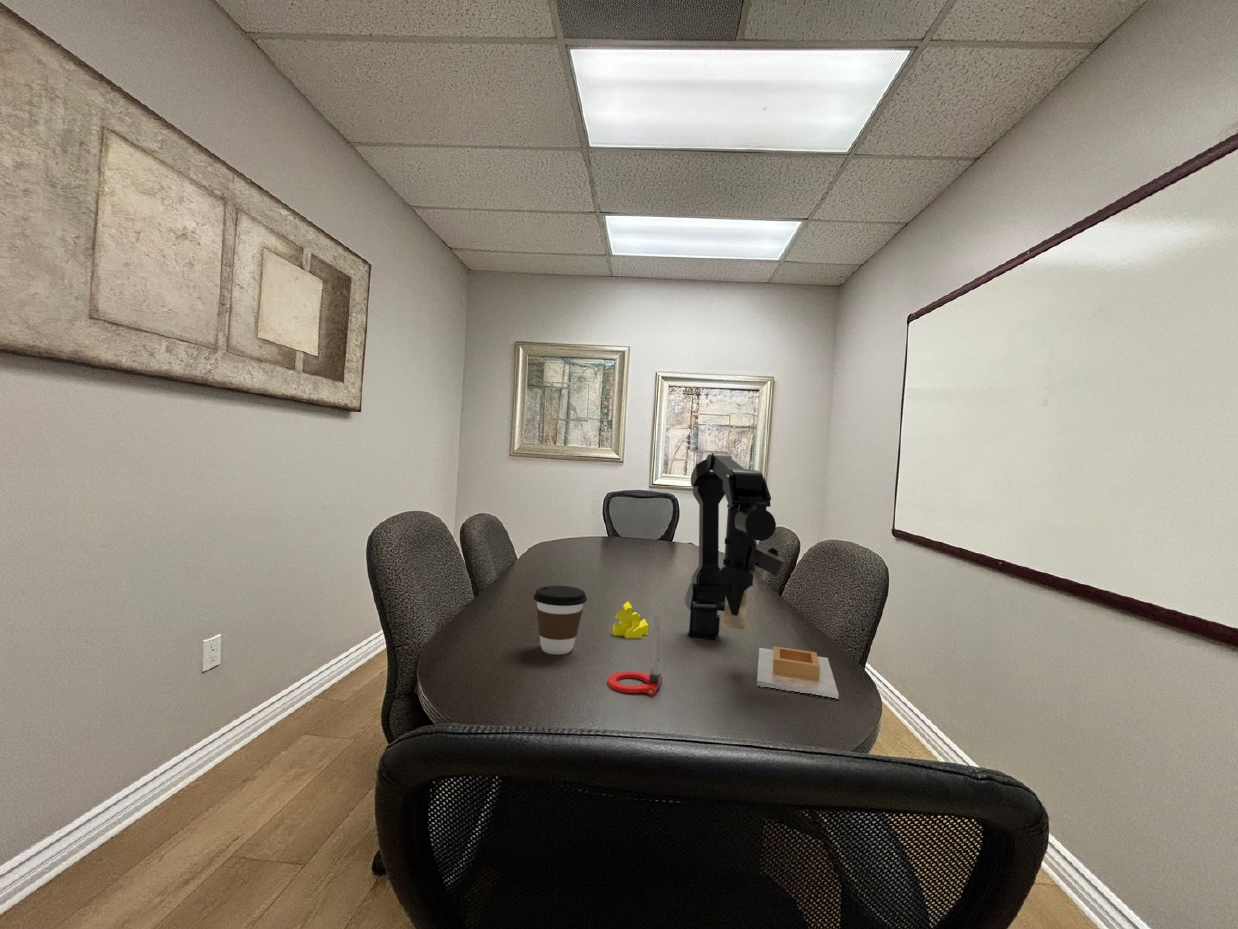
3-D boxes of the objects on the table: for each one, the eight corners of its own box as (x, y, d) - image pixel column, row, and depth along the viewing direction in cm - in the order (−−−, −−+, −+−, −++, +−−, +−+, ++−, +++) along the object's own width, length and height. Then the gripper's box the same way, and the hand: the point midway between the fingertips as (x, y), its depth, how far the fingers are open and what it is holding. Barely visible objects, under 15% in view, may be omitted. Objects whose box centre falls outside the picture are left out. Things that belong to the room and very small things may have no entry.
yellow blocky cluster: (650, 638, 126) (653, 604, 126) (617, 639, 124) (619, 604, 124) (642, 630, 132) (644, 597, 132) (609, 631, 129) (612, 597, 129)
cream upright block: (723, 626, 108) (726, 585, 108) (725, 621, 112) (727, 581, 112) (744, 629, 107) (747, 588, 107) (745, 624, 111) (748, 584, 111)
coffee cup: (519, 652, 111) (523, 592, 111) (546, 637, 121) (550, 582, 121) (568, 662, 107) (572, 600, 107) (592, 646, 117) (595, 590, 117)
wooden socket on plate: (756, 686, 102) (757, 667, 102) (758, 652, 121) (760, 636, 121) (838, 700, 98) (839, 680, 98) (827, 662, 117) (828, 646, 117)
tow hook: (601, 692, 96) (653, 699, 93) (603, 616, 96) (655, 622, 94) (615, 675, 104) (663, 681, 101) (616, 605, 104) (665, 610, 102)
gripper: (784, 543, 99) (778, 631, 99) (782, 532, 117) (777, 607, 117) (720, 537, 102) (715, 622, 102) (728, 527, 120) (723, 600, 120)
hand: (735, 612), depth 110 cm, fingers closed on cream upright block, 4 cm apart
